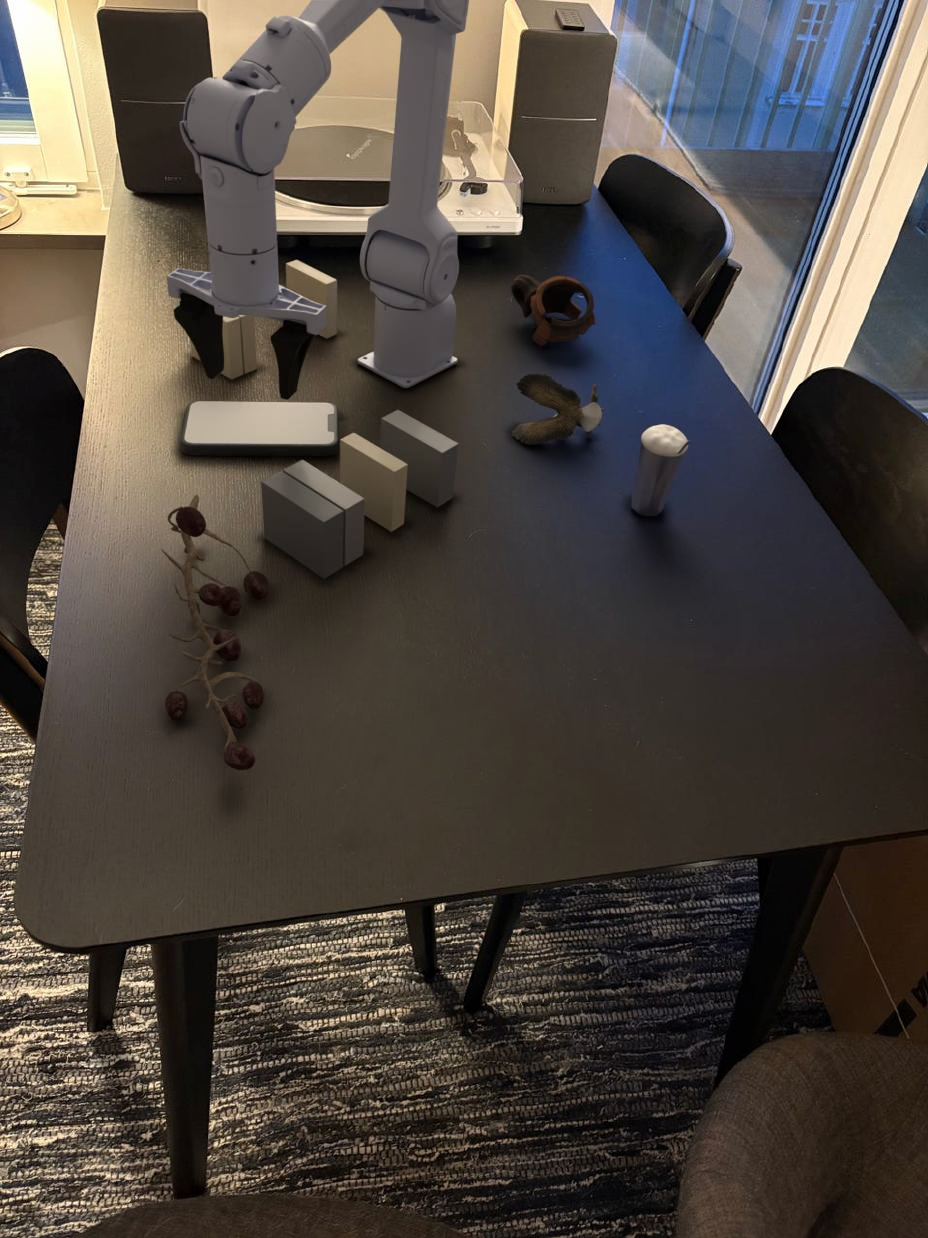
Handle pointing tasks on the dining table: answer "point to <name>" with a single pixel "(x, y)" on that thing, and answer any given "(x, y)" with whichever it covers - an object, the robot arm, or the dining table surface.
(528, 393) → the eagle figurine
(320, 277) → the cream books
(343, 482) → the cream square block
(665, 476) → the milkshake
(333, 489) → the grey books
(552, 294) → the rusty ring housing
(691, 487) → the dining table surface
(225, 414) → the grey smartphone
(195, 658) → the decorative branch
